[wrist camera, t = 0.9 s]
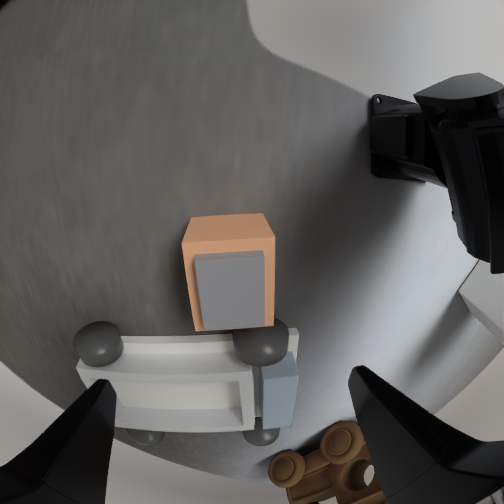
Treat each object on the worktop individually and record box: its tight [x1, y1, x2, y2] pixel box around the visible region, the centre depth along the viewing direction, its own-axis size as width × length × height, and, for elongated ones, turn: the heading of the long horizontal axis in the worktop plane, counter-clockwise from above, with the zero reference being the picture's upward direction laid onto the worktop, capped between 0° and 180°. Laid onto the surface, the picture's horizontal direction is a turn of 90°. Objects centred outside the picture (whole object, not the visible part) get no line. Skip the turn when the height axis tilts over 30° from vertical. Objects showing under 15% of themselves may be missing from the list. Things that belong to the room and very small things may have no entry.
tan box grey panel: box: [182, 213, 275, 331], centre depth 17 cm, size 5×6×6 cm
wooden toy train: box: [268, 421, 386, 504], centre depth 27 cm, size 20×11×17 cm, turn 135°
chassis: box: [74, 318, 300, 446], centre depth 23 cm, size 21×16×4 cm
